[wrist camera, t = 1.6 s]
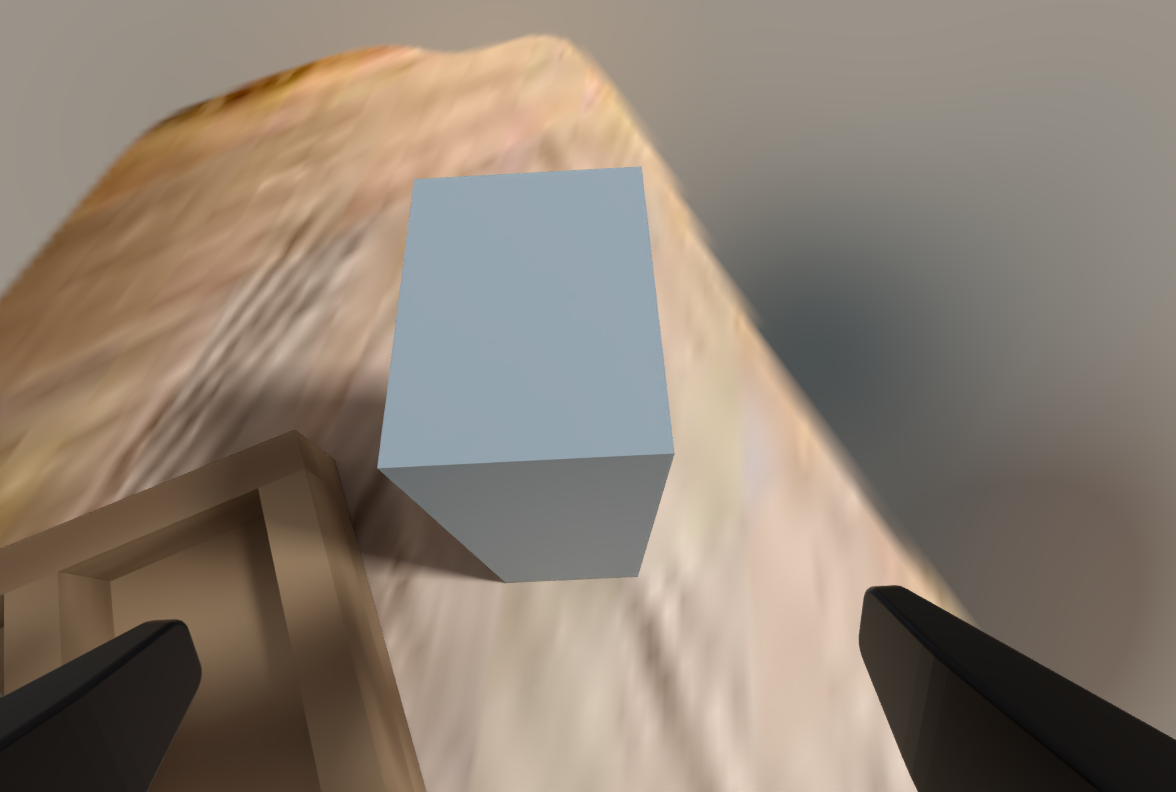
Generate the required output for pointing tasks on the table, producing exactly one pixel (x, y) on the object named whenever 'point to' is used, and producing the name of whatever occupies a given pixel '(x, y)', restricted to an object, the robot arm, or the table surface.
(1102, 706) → the robot arm
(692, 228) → the table surface
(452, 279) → the blue-gray rectangular box
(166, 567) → the book rack
